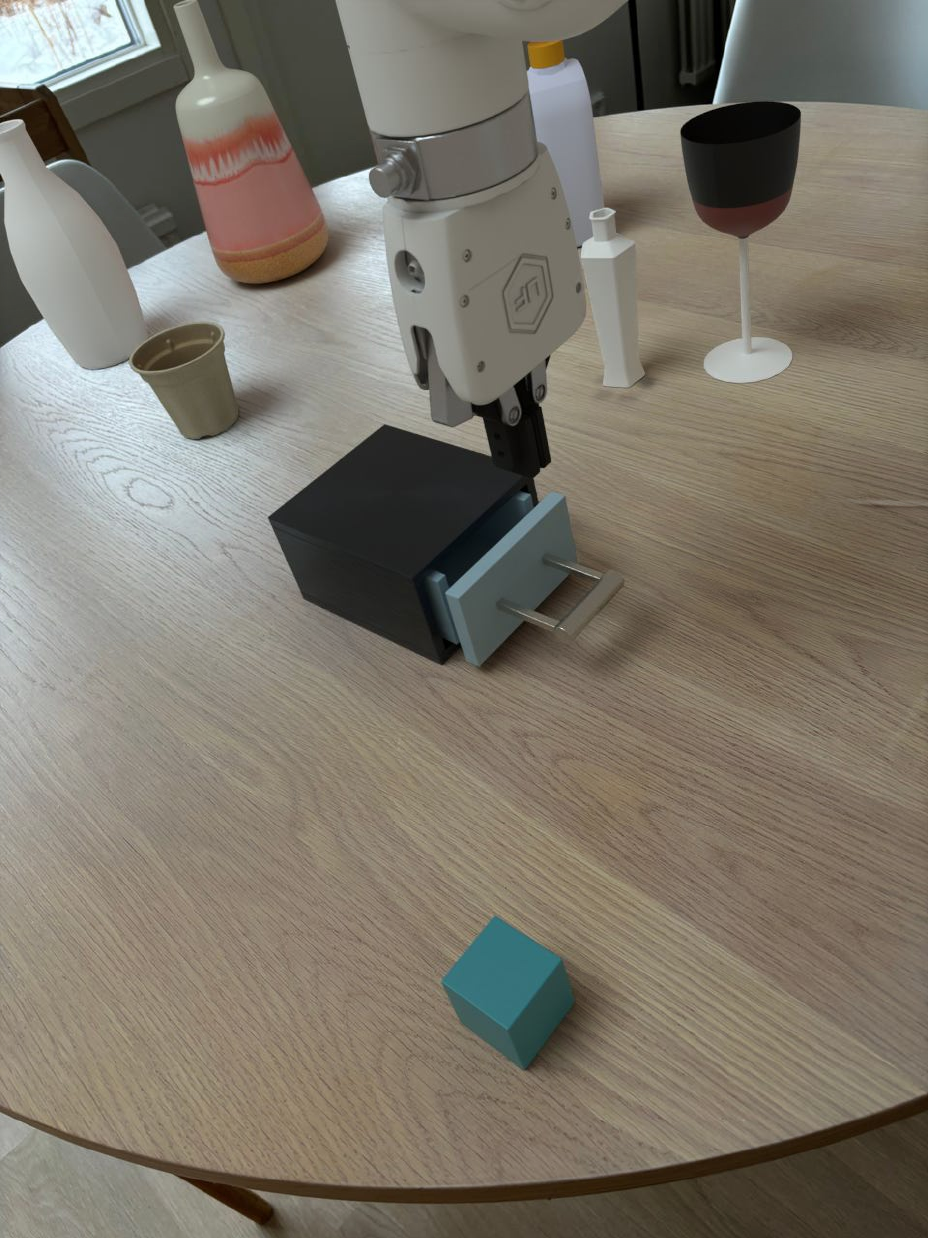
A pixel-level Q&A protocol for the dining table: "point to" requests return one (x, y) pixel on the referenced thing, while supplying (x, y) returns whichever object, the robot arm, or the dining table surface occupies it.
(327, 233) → the vase
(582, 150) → the soap bottle
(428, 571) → the small black cabinet
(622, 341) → the perfume bottle
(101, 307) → the bottle
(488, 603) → the drawer
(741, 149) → the wineglass
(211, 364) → the flower pot
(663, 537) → the dining table surface
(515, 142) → the robot arm
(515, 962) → the teal block
